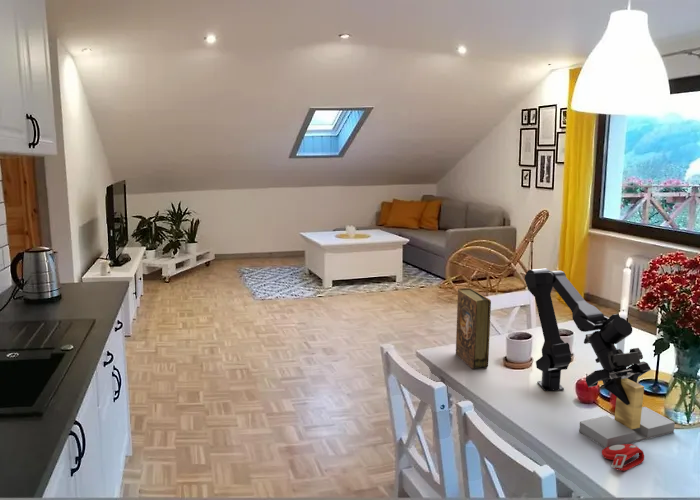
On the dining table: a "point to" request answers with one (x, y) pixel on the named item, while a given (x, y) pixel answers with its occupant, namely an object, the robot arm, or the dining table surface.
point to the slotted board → (626, 429)
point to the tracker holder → (623, 455)
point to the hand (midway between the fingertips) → (633, 403)
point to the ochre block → (631, 412)
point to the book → (473, 328)
